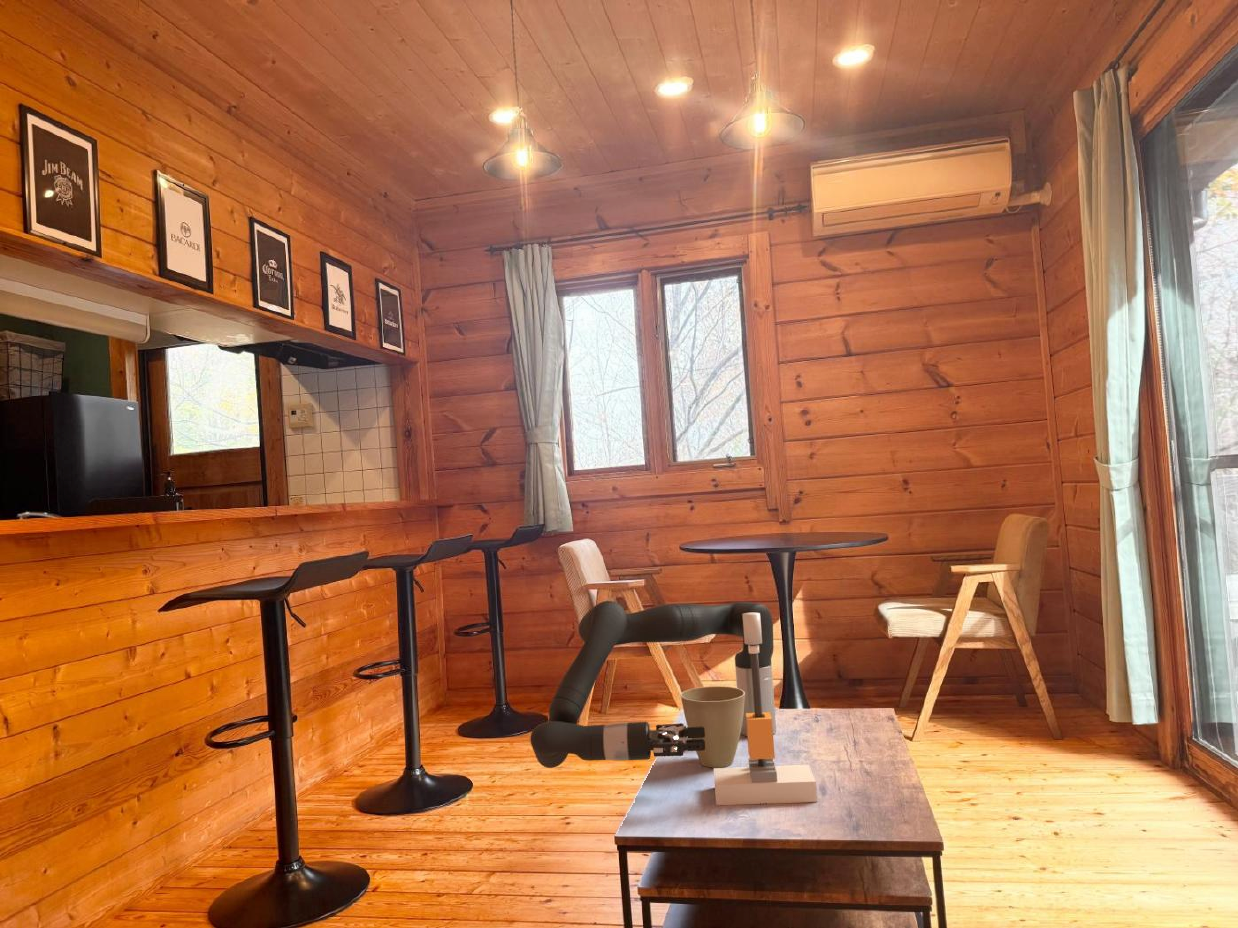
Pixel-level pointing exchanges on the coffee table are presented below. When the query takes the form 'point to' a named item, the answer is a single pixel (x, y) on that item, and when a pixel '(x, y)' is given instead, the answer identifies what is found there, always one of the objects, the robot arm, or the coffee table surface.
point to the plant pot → (715, 721)
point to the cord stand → (762, 775)
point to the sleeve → (760, 736)
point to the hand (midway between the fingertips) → (704, 737)
